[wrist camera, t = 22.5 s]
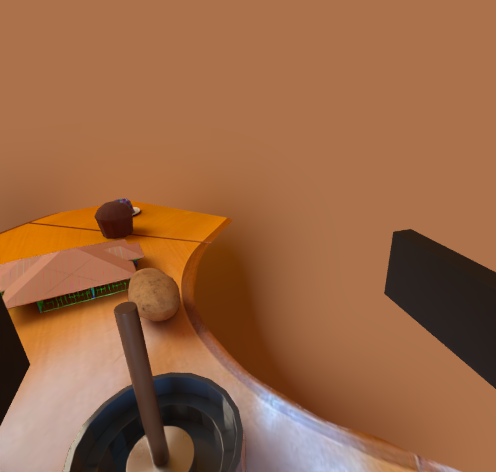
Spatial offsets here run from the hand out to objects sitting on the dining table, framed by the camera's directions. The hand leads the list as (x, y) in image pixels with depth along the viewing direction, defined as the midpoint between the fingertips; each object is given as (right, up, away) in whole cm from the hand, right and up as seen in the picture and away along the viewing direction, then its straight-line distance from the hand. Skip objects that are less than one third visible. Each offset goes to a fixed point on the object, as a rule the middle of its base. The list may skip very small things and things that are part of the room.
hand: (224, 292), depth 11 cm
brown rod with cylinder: (-8, -24, +24) cm, 35 cm away
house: (-40, -9, +65) cm, 77 cm away
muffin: (-41, +3, +92) cm, 100 cm away
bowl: (-8, -25, +24) cm, 36 cm away
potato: (-17, -13, +52) cm, 56 cm away
